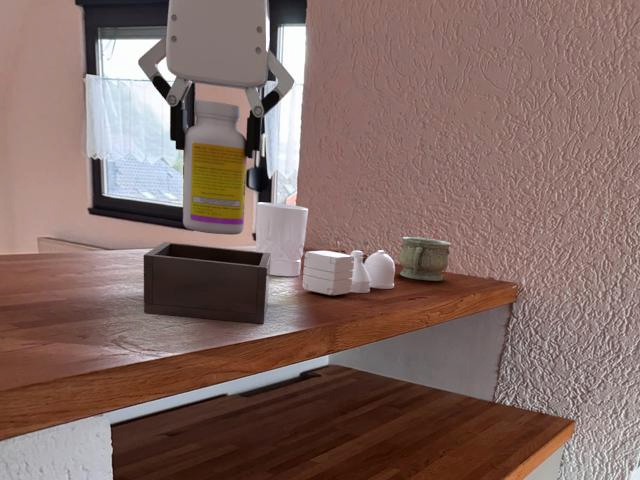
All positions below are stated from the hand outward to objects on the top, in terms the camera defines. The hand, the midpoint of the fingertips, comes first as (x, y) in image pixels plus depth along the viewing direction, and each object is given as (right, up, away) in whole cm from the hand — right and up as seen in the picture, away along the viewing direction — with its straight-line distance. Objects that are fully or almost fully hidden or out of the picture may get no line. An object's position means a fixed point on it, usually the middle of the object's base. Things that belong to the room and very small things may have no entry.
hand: (215, 152), depth 78 cm
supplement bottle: (-1, -7, +3) cm, 8 cm away
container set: (+15, -7, +30) cm, 34 cm away
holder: (-2, -15, +7) cm, 17 cm away
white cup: (+3, -3, +37) cm, 37 cm away
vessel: (+26, +1, +51) cm, 58 cm away
